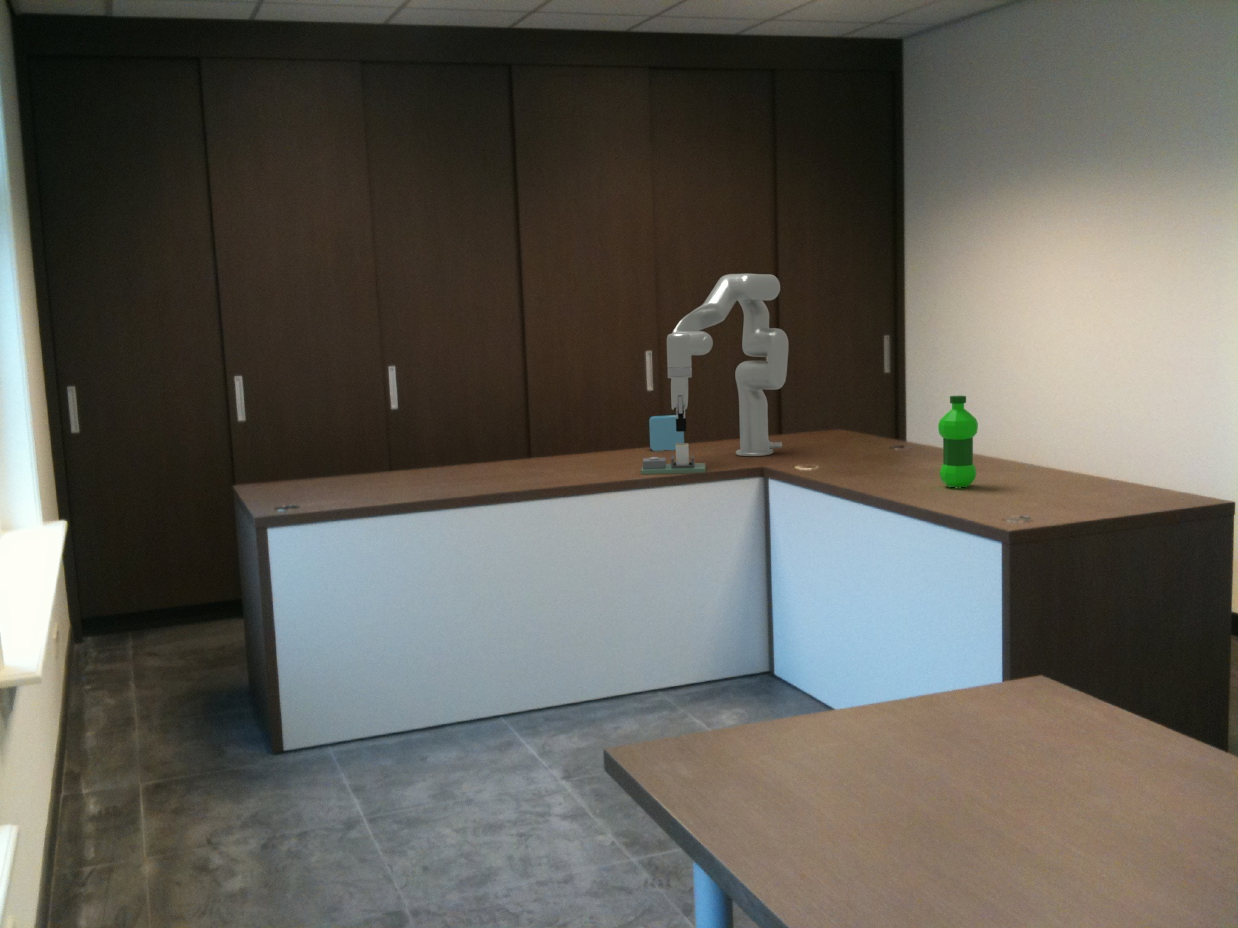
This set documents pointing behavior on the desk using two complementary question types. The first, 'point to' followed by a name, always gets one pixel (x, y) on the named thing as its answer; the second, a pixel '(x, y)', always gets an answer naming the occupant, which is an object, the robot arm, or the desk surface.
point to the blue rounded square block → (664, 433)
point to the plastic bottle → (958, 444)
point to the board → (670, 466)
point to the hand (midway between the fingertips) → (681, 431)
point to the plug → (682, 454)
